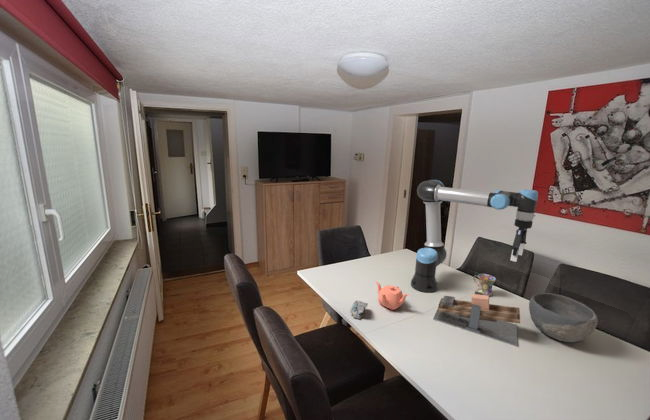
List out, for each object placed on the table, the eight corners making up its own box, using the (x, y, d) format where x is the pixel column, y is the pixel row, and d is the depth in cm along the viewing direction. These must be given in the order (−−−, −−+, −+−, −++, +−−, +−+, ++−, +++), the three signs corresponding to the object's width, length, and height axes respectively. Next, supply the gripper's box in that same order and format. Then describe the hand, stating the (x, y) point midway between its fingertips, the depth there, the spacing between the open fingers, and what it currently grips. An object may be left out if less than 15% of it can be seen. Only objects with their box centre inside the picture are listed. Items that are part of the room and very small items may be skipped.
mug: (495, 294, 168) (498, 277, 166) (489, 299, 162) (492, 282, 160) (474, 286, 177) (477, 270, 175) (468, 291, 171) (470, 274, 169)
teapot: (407, 313, 146) (409, 293, 144) (380, 312, 146) (381, 293, 143) (399, 298, 160) (400, 280, 158) (374, 298, 160) (375, 280, 157)
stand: (433, 319, 141) (436, 296, 138) (440, 303, 156) (442, 282, 153) (517, 346, 123) (522, 320, 120) (516, 325, 138) (520, 301, 135)
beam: (438, 316, 142) (437, 303, 142) (442, 305, 153) (442, 293, 152) (520, 329, 124) (520, 314, 123) (519, 315, 134) (519, 301, 133)
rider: (472, 311, 137) (471, 297, 136) (473, 307, 141) (472, 293, 140) (489, 313, 133) (488, 299, 133) (489, 309, 137) (488, 295, 136)
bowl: (575, 359, 117) (583, 326, 114) (514, 326, 138) (519, 298, 135) (602, 342, 128) (610, 312, 125) (541, 314, 149) (546, 287, 146)
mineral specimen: (353, 321, 146) (371, 322, 141) (346, 317, 140) (364, 317, 135) (355, 302, 151) (372, 302, 146) (348, 297, 146) (366, 297, 141)
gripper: (528, 225, 136) (519, 266, 141) (537, 217, 154) (529, 254, 159) (510, 221, 142) (502, 261, 146) (520, 214, 159) (513, 250, 164)
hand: (516, 257), depth 152 cm, fingers open, 13 cm apart
